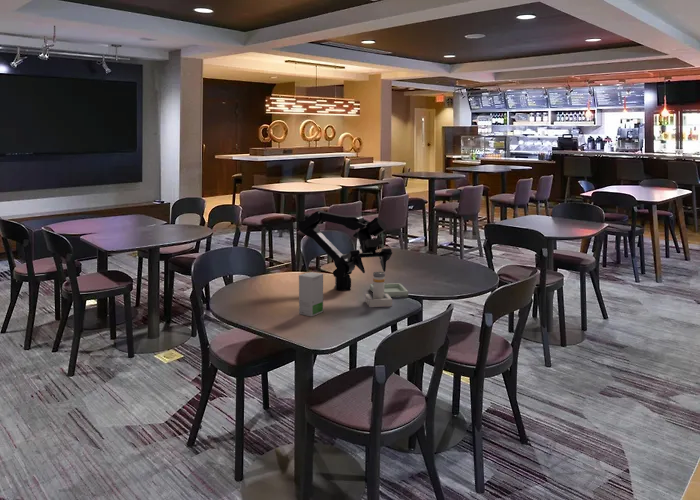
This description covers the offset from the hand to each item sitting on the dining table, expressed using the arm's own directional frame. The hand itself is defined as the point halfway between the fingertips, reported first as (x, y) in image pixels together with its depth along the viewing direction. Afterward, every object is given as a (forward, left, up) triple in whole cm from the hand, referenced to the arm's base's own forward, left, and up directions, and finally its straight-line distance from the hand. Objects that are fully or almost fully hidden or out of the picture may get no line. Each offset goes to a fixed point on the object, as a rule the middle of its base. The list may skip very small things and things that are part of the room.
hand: (374, 272), depth 243 cm
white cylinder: (+1, -6, -12) cm, 13 cm away
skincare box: (-28, -15, -12) cm, 34 cm away
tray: (+9, +9, -12) cm, 17 cm away
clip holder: (+1, -6, -12) cm, 13 cm away
